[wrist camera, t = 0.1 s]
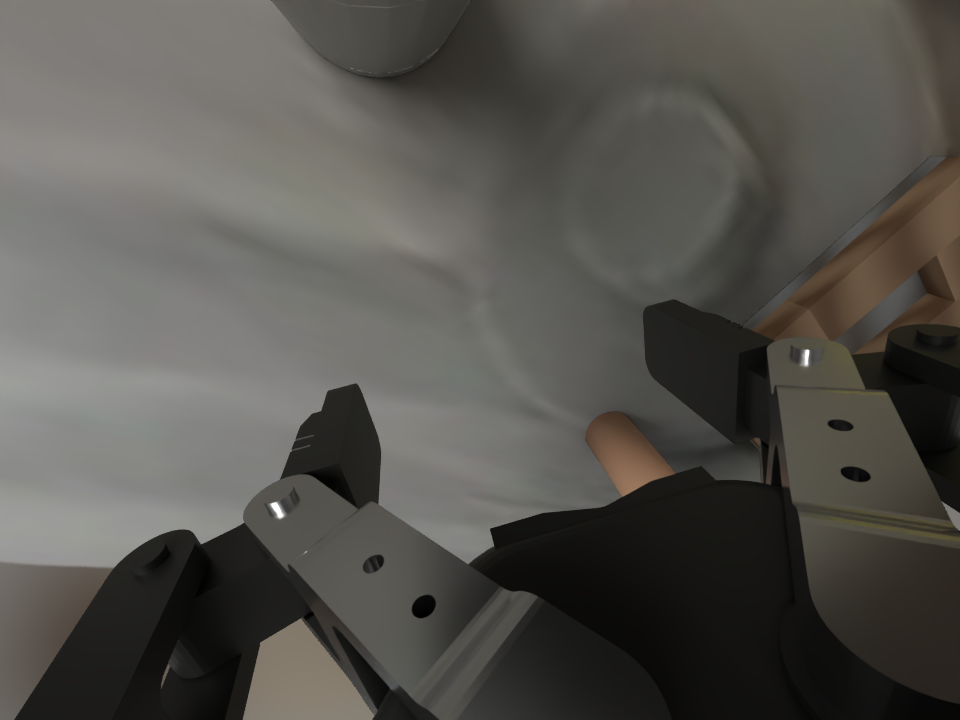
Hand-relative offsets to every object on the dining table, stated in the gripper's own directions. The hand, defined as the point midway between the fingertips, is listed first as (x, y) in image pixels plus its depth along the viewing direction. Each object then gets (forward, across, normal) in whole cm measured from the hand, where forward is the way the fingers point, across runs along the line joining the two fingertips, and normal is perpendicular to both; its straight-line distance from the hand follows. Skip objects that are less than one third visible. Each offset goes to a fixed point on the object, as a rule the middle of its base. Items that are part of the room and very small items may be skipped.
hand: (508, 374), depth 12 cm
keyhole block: (+18, -30, +13) cm, 37 cm away
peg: (+18, -10, +17) cm, 27 cm away
